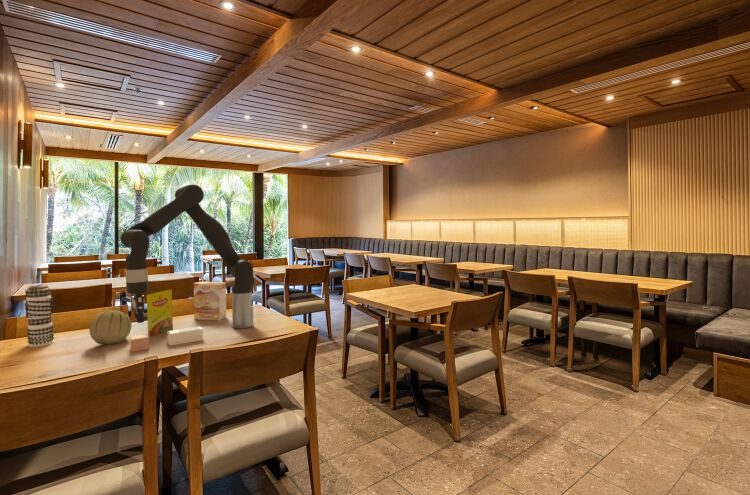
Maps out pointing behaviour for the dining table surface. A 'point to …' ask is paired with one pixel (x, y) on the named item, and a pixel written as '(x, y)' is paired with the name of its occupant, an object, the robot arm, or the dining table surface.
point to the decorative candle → (39, 316)
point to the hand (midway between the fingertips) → (139, 320)
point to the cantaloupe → (110, 327)
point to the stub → (139, 342)
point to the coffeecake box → (209, 300)
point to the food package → (159, 312)
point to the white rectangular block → (184, 335)
